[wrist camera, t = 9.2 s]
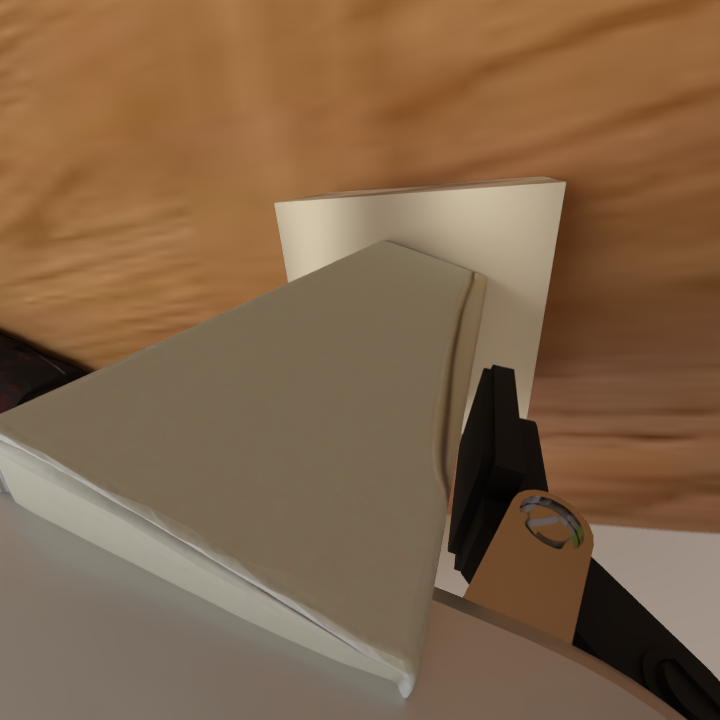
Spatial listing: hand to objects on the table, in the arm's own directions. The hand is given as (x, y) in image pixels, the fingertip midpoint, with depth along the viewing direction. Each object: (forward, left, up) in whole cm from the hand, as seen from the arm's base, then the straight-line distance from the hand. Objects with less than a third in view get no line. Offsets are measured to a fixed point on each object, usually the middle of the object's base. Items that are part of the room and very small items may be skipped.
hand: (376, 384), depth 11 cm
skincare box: (0, 0, -5) cm, 5 cm away
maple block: (0, 0, -10) cm, 10 cm away
